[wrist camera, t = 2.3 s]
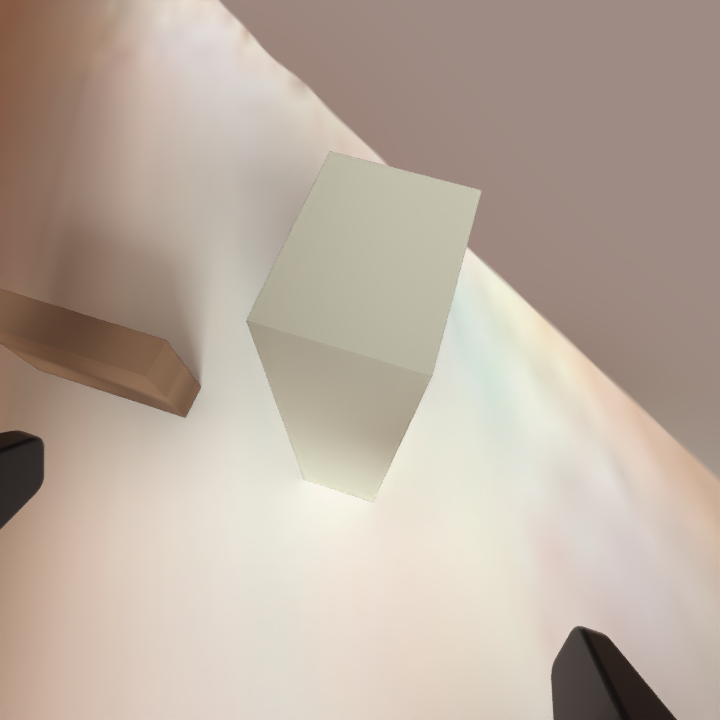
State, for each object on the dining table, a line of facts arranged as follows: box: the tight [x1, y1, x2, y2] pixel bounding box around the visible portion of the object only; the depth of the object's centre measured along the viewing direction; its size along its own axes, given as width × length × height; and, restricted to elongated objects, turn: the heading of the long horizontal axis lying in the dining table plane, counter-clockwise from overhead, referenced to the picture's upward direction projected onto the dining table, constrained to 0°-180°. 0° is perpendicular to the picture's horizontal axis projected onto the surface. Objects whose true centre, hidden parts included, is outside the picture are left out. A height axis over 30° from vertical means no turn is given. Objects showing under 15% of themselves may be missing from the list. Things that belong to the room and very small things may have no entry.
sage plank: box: [247, 151, 481, 502], centre depth 14 cm, size 4×3×13 cm
